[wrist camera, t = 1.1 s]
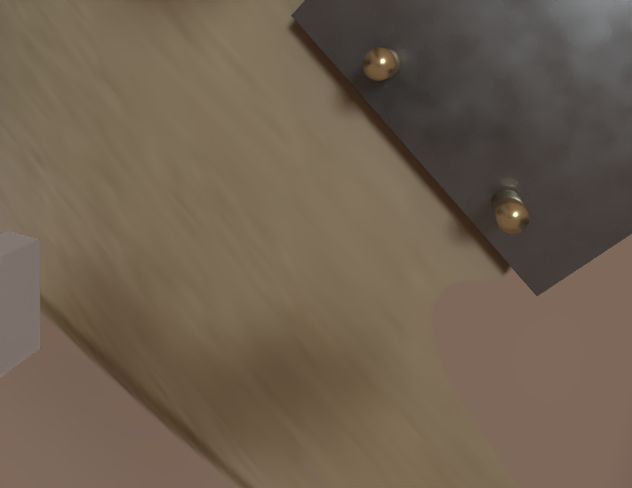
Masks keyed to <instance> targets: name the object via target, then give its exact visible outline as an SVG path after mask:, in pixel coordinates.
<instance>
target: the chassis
mask: <svg viewBox="0 0 632 488" xmlns="http://www.w3.org/2000/svg"><path fill="white" fill-rule="evenodd" d="M291 16H292V17H293V18H294V19H295V20H296V22H297V23H298V24H299V25H300V26H301V27H302V28H303V30H304V31H305V32H306V33H307V34H308V35H309V36H310V38H311V39H312V40H313V41H314V42H315V43H316V44H317V46H318V47H319V48H320V49H321V50H322V51H323V52H324V54H325V55H326V56H327V57H328V58H329V59H330V60H331V62H332V63H333V64H334V65H335V66H336V67H337V68H338V70H339V71H340V72H341V73H342V74H343V75H344V76H345V78H346V79H347V80H348V81H349V82H350V83H351V84H352V86H353V87H354V88H355V89H356V90H357V91H358V92H359V94H360V95H361V96H362V97H363V98H364V99H365V100H366V102H367V103H368V104H369V105H370V106H371V107H372V108H373V109H374V111H375V112H376V113H377V114H378V115H379V116H380V117H381V119H382V120H383V121H384V122H385V123H386V124H387V125H388V127H389V128H390V129H391V130H392V131H393V132H394V133H395V135H396V136H397V137H398V138H399V139H400V140H401V141H402V143H403V144H404V145H405V146H406V147H407V148H408V149H409V151H410V152H411V153H412V154H413V155H414V156H415V157H416V159H417V160H418V161H419V162H420V163H421V164H422V165H423V167H424V168H425V169H426V170H427V171H428V172H429V173H430V175H431V176H432V177H433V178H434V179H435V180H436V181H437V183H438V184H439V185H440V186H441V187H442V188H443V189H444V191H445V192H446V193H447V194H448V195H449V196H450V197H451V199H452V200H453V201H454V202H455V203H456V204H457V205H458V207H459V208H460V209H461V210H462V211H463V212H464V213H465V215H466V216H467V217H468V218H469V219H470V220H471V221H472V223H473V224H474V225H475V226H476V227H477V228H478V229H479V231H480V232H481V233H482V234H483V235H484V236H485V237H486V239H487V240H488V241H489V242H490V243H491V244H492V245H493V247H494V248H495V249H496V250H497V251H498V252H499V253H500V255H501V256H502V257H503V258H504V259H505V260H506V261H507V263H508V264H509V265H510V266H511V267H512V268H513V269H514V271H515V272H516V273H517V274H518V275H519V276H520V277H521V279H522V280H523V281H524V282H525V283H526V284H527V285H528V287H529V288H530V289H531V290H532V291H533V292H534V293H535V294H536V296H538V295H539V294H541V293H543V292H544V291H546V290H547V289H549V288H550V287H552V286H553V285H555V284H556V283H558V282H559V281H561V280H562V279H564V278H565V277H567V276H568V275H570V274H571V273H573V272H574V271H576V270H577V269H579V268H580V267H582V266H583V265H585V264H587V263H588V262H590V261H591V260H593V259H594V258H595V257H597V256H599V255H600V254H602V253H603V252H605V251H606V250H608V249H609V248H611V247H612V246H614V245H615V244H617V243H618V242H620V241H621V240H623V239H624V238H626V237H627V236H629V235H630V234H632V0H305V1H304V2H303V3H302V4H301V6H300V7H299V8H298V9H297V10H296V11H295V12H294V13H293V14H292V15H291Z"/></svg>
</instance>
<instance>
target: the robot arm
mask: <svg viewBox="0 0 632 488" xmlns="http://www.w3.org/2000/svg"><path fill="white" fill-rule="evenodd" d="M40 348H41V342H40V270H39V239H36V238H32V237H28V236H24V235H20V234H16V233H12V232H9V231H7V232H5V233H2V234H0V377H2V376H3V375H4V374H6V373H7V372H9V371H10V370H11V369H13V368H14V367H15V366H17V365H18V364H19V363H21V362H22V361H24V360H25V359H27V358H28V357H29V356H31V355H32V354H34V353H35V352H36V351H38V350H39V349H40Z"/></svg>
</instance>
